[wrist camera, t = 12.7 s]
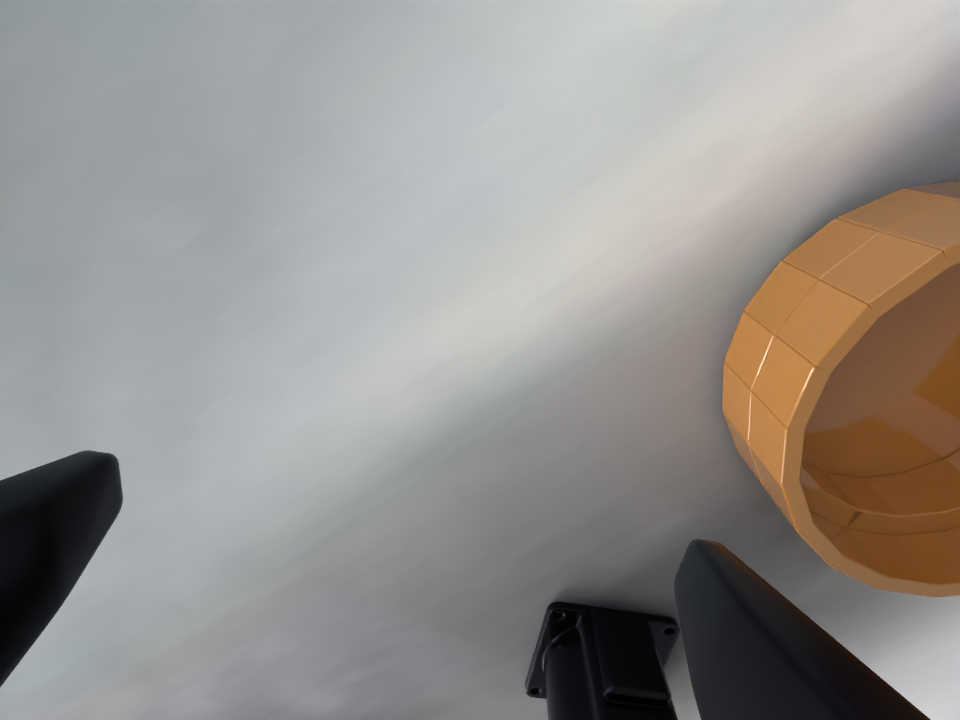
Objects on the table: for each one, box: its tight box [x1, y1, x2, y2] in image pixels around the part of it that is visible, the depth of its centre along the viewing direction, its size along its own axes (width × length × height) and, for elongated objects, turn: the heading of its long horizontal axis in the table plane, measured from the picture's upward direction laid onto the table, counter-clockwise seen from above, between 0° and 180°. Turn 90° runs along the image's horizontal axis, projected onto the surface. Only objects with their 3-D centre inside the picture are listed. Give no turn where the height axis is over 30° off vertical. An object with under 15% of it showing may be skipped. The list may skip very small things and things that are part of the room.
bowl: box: [722, 180, 960, 597], centre depth 19 cm, size 13×13×6 cm
